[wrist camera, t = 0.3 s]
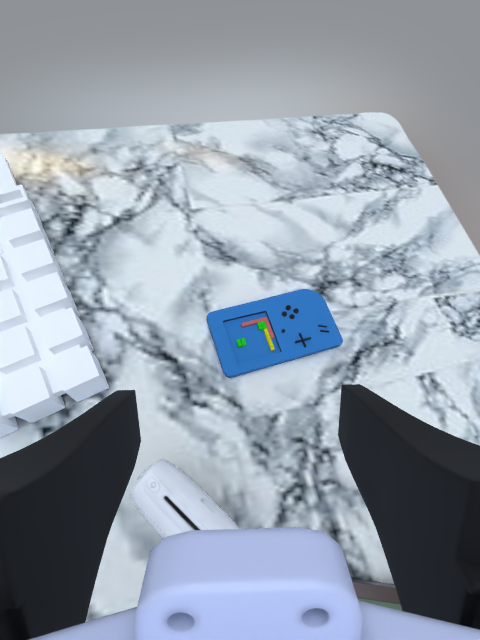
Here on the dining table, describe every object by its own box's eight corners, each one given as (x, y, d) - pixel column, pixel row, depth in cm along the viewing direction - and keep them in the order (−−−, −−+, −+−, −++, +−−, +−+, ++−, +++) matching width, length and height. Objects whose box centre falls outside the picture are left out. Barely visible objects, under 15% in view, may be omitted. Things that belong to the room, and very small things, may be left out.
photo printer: (138, 494, 38) (114, 494, 27) (169, 459, 40) (158, 446, 28) (215, 572, 36) (223, 608, 25) (244, 533, 38) (264, 549, 26)
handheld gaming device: (345, 342, 46) (226, 376, 43) (342, 345, 47) (225, 379, 44) (318, 283, 49) (205, 312, 46) (316, 288, 50) (205, 316, 47)
